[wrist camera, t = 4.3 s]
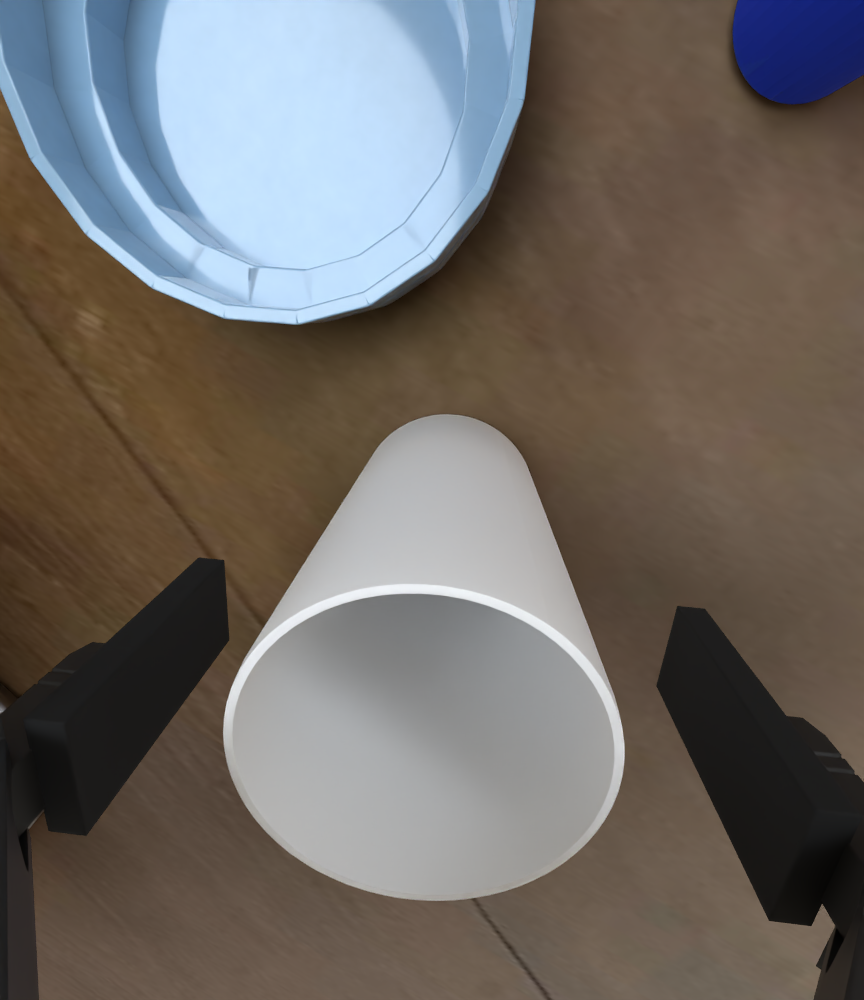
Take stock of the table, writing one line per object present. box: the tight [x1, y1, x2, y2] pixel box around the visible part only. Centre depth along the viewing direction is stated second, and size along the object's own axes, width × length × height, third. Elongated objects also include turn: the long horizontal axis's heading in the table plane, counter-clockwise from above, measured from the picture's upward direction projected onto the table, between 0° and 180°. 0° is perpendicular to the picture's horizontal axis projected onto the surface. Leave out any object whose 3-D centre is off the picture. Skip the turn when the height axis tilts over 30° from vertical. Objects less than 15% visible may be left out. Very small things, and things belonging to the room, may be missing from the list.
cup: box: [223, 414, 624, 901], centre depth 19 cm, size 8×8×16 cm
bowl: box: [0, 0, 536, 325], centre depth 18 cm, size 17×17×5 cm
